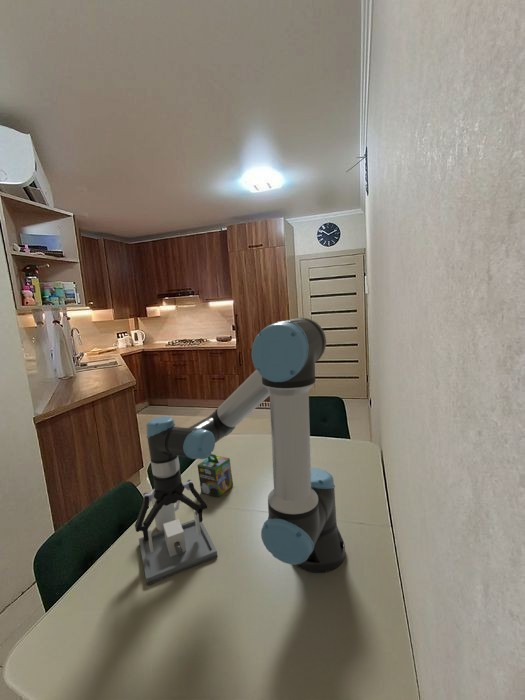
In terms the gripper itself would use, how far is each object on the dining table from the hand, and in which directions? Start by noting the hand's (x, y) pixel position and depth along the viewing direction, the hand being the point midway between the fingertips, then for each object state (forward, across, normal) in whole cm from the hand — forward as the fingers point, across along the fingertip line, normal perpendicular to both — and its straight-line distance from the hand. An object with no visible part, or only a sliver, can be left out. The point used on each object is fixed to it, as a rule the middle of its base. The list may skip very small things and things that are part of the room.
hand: (175, 540), depth 101 cm
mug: (+3, -1, -15) cm, 15 cm away
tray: (+3, 0, 0) cm, 3 cm away
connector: (+2, 0, -1) cm, 2 cm away
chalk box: (+3, -21, -26) cm, 33 cm away
